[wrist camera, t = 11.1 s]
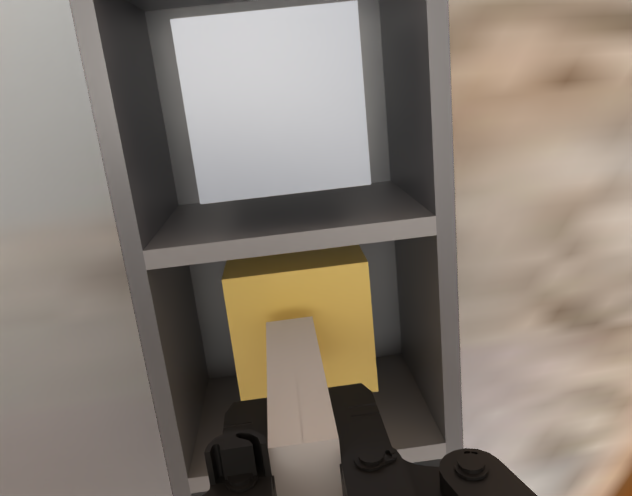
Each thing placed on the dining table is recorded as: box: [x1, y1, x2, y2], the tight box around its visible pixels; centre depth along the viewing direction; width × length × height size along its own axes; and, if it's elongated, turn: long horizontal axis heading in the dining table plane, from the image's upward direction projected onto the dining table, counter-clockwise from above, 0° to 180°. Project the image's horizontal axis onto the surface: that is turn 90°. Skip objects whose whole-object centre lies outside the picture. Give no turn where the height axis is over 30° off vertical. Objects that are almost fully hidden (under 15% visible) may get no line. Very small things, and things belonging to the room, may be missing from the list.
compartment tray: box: [69, 0, 463, 496], centre depth 20 cm, size 10×34×7 cm, turn 6°
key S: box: [170, 0, 371, 204], centre depth 17 cm, size 5×5×4 cm
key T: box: [222, 245, 378, 401], centre depth 21 cm, size 5×5×4 cm
